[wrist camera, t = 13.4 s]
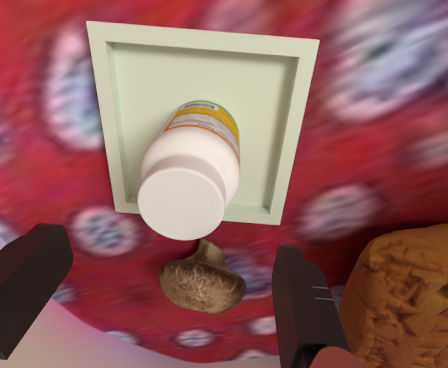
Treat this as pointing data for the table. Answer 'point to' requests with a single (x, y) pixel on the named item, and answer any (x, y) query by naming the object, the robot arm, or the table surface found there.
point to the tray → (203, 90)
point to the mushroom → (202, 281)
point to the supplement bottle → (190, 171)
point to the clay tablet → (399, 300)
